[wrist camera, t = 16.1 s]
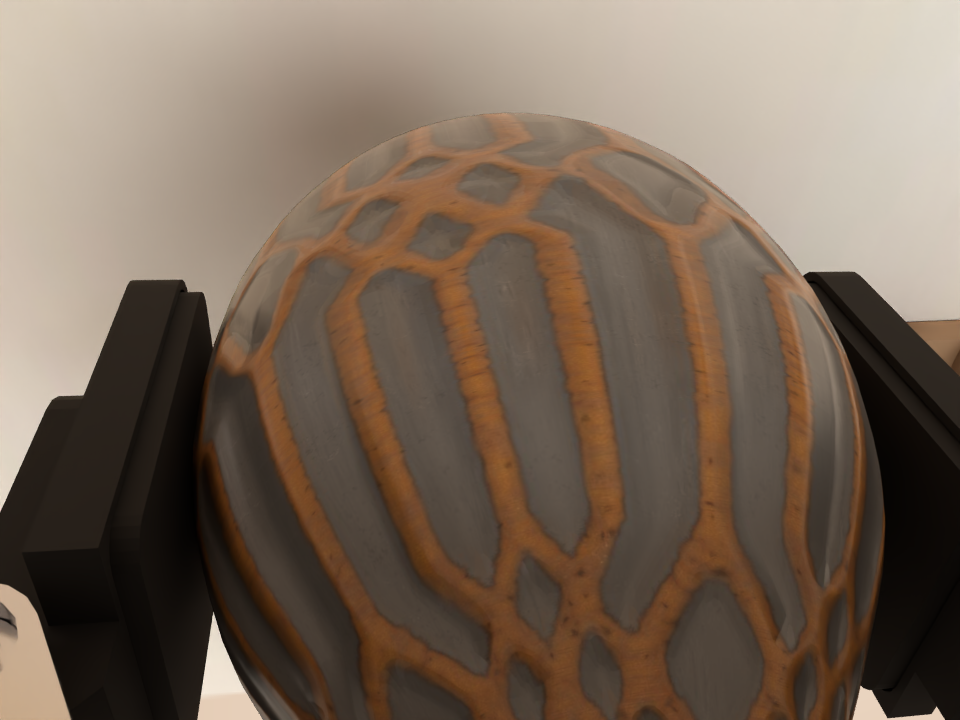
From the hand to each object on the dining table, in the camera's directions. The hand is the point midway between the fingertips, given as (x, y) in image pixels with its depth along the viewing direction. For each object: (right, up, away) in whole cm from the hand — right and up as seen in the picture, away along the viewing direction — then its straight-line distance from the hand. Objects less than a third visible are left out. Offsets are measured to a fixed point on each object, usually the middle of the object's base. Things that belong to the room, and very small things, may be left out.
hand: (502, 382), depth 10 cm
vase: (0, +1, +2) cm, 3 cm away
